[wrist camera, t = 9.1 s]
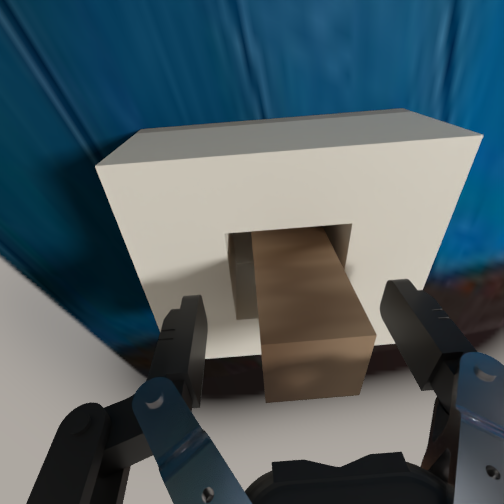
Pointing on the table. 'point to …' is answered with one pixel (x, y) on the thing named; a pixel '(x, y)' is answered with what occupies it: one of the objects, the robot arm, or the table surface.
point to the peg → (308, 317)
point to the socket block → (284, 206)
